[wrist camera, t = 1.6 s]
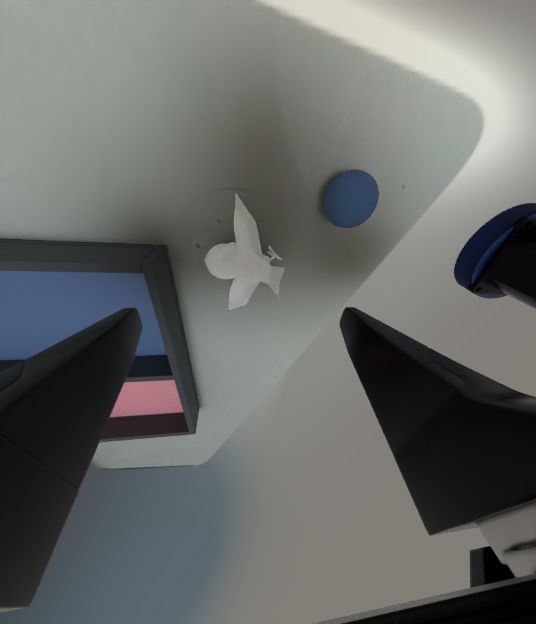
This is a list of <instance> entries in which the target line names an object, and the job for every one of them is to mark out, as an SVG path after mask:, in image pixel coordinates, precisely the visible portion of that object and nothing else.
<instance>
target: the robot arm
mask: <svg viewBox="0 0 536 624" xmlns="http://www.w3.org/2000/svg"><path fill="white" fill-rule="evenodd" d="M469 291H471V292H472V293H474V294H507V295H509V296H511V297H513V298H516V299H517V300H519V301H521V302H523V303H525V304H527V305H529V306H531V307H533V308H535V309H536V218H535V217H524V218H522V219H521V220H520V221H518V223H517V224H516V225H515V226H514V228H513V229H512V231H511V232H510V233H509V235H508V236H507V237H506V239H505V240H504V241H503V243H502V244H501V246H500V247H499V248H498V250H497V251H496V252H495V254H494V255H493V256H492V258H491V259H490V261H489V262H488V263H487V265H486V266H485V267H484V269H483V270H482V271H481V273H480V274H479V276H478V277H477V278H476V280H475V281H474V282H473V284H472V285H471V286H470V288H469ZM340 328H341V331H342V334H343V338H344V341H345V344H346V347H347V350H348V353H349V355H350V358H351V360H352V363H353V365H354V367H355V369H356V372H357V374H358V376H359V378H360V381H361V383H362V385H363V388H364V390H365V392H366V394H367V397H368V399H369V401H370V403H371V406H372V408H373V410H374V412H375V415H376V417H377V419H378V421H379V424H380V426H381V428H382V430H383V433H384V435H385V437H386V440H387V442H388V444H389V446H390V449H391V451H392V453H393V456H394V458H395V460H396V463H397V465H398V467H399V469H400V471H401V474H402V476H403V478H404V481H405V483H406V485H407V487H408V490H409V492H410V494H411V496H412V498H413V501H414V503H415V505H416V508H417V510H418V512H419V515H420V517H421V519H422V521H423V524H424V526H425V528H426V530H427V532H428V534H429V535H430V536H431V535H437V534H443V533H448V532H454V531H459V530H465V529H471V528H476V527H478V528H479V529H480V531H481V533H482V534H483V536H484V537H485V539H486V540H487V542H488V543H489V545H490V546H488V547H483V548H479V549H474V550H470V587H471V588H469V589H464V590H460V591H455V592H451V593H447V594H442V595H438V596H433V597H429V598H424V599H420V600H416V601H411V602H407V603H402V604H398V605H394V606H389V607H385V608H380V609H376V610H371V611H367V612H362V613H358V614H353V615H349V616H345V617H340V618H336V619H331V620H327V621H323V622H318V623H314V624H536V397H534V396H530V395H527V394H524V393H521V392H518V391H515V390H513V389H511V388H509V387H507V386H505V385H503V384H500V383H498V382H496V381H494V380H492V379H490V378H488V377H486V376H484V375H481V374H480V373H478V372H476V371H473V370H471V369H469V368H467V367H465V366H463V365H461V364H459V363H457V362H455V361H453V360H451V359H449V358H448V357H446V356H444V355H442V354H440V353H438V352H436V351H434V350H433V349H430V348H428V347H427V346H425V345H423V344H421V343H419V342H418V341H416V340H414V339H412V338H410V337H408V336H406V335H404V334H403V333H401V332H399V331H397V330H395V329H393V328H392V327H390V326H388V325H386V324H384V323H382V322H381V321H379V320H377V319H375V318H373V317H371V316H369V315H368V314H366V313H364V312H362V311H360V310H358V309H357V308H354V307H346V308H345V309H344V311H343V314H342V317H341V319H340ZM142 329H143V324H142V321H141V318H140V315H139V312H138V310H137V309H136V308H123V309H121V310H119V311H117V312H115V313H113V314H111V315H110V316H108V317H106V318H104V319H102V320H100V321H98V322H96V323H94V324H92V325H91V326H89V327H87V328H85V329H83V330H81V331H79V332H77V333H75V334H73V335H72V336H70V337H68V338H66V339H64V340H62V341H60V342H58V343H56V344H54V345H53V346H51V347H49V348H47V349H45V350H43V351H41V352H39V353H37V354H35V355H33V356H32V357H30V358H28V359H26V360H25V362H20V363H18V364H16V365H14V366H12V367H11V368H9V369H7V370H5V371H3V372H1V373H0V612H5V611H11V610H16V609H22V608H27V607H29V606H30V604H31V602H32V600H33V598H34V596H35V594H36V591H37V589H38V587H39V584H40V582H41V579H42V577H43V575H44V572H45V570H46V567H47V565H48V563H49V561H50V558H51V556H52V553H53V551H54V549H55V546H56V544H57V542H58V539H59V537H60V534H61V532H62V529H63V527H64V525H65V523H66V520H67V518H68V515H69V513H70V511H71V508H72V506H73V504H74V501H75V499H76V497H77V494H78V492H79V490H78V489H79V488H80V486H81V484H82V482H83V479H84V477H85V475H86V472H87V470H88V468H89V465H90V463H91V460H92V458H93V456H94V453H95V451H96V449H97V446H98V444H99V442H100V439H101V437H102V434H103V432H104V430H105V427H106V425H107V423H108V420H109V418H110V415H111V413H112V411H113V408H114V406H115V404H116V401H117V399H118V396H119V394H120V392H121V389H122V387H123V385H124V382H125V380H126V377H127V375H128V373H129V370H130V368H131V366H132V363H133V360H134V357H135V354H136V350H137V347H138V343H139V340H140V336H141V332H142Z"/></svg>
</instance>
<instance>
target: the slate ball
mask: <svg viewBox="0 0 536 624" xmlns="http://www.w3.org/2000/svg"><path fill="white" fill-rule="evenodd" d="M378 196H379V193H378V186H377V183H376V182H375V180H374V178H373V177H372V176H371V175H370V174H368V173H367V172H364V171H361V170H350V171H346V172H344V173H342V174H340V175H339V176H337V177H336V178H335V179H334V180H333V181H332V182H331V183H330V185H329V186H328V188H327V190H326V193H325V196H324V202H323V206H324V212H325V215H326V217H327V218H328V220H329V221H330V222H331V223H332V224H334V225H336V226H338V227H341V228H351V227H355V226H358V225H360V224H362V223H363V222H365V221H366V220H367V219H368V218H369V217H370V216H371V214H372V213H373V211H374V210H375V208H376V205H377V202H378Z"/></svg>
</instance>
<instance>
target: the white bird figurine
mask: <svg viewBox="0 0 536 624" xmlns="http://www.w3.org/2000/svg"><path fill="white" fill-rule="evenodd" d="M234 232H235V239H236V243H234V242H230V243H228V244H224V243H222V244H218V245H215V246H213V247H212V248H211V249H210V250H209V251H208V253H207V255H206V257H205V258H204V261H205V264H206V265H207V268H208V270H209V272H210V273H211V274H212V275H213V276H215V277H217V278H218V279H225V280H228V279H232V278H234V279H233V283H232V286H231V288H230V291H229V307H228V311H230V310H233V309H235V308H238V307H241V306H244V305H246V304H247V302H248V301H249V299H250V297H251V296H252V294H253V292H254V291H255V289H256V288H257V286H258V285H259V283H260V282H263V283H266V284H269V285H270V287H271V288H272V289H273V291H274V292H275V293H276V294H277V296H278V297H279V285H280V281H281V278H282V276H283V274H284V271H285V269H286V268H283V267H272V266H271V265H270V261H271V260H272V259H273V258H276V259H279V260H281V261H282V259H281V258H280V257H279V256H278V255H277V254H276V253H275V252H274V251H273V249H272V248H271V246H268V248H269V250H270V251H271V252H272V253H273V254H272V253H271V252H270V251H268V252H267V253H268V254H270V255H272V257H271V258H269V257H268V256H265V255H262V251H261V245H260V240H259V235H258V229H257V224H256V221H255V220H254V218H253V217H252V215H251V214H250V212H249V211H248V210H247V208H246V207H245V205H244V204H243V203H242V201H241V200H240V198H239V197H238V195H237V194H236V198H235V214H234Z"/></svg>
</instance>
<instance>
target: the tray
mask: <svg viewBox="0 0 536 624" xmlns="http://www.w3.org/2000/svg"><path fill="white" fill-rule="evenodd" d="M123 308H136V309H137V310H138V312H139V315H140V318H141V321H142V324H143V329H142V332H141V336H140V340H139V343H138V347H137V350H136V354H135V357H134V360H133V363H132V366H131V368H130V370H129V373H128V375H127V377H126V380H125V382H124V385H123V387H122V389H121V392H120V394H119V396H118V399H117V401H116V404H115V406H114V408H113V411H112V413H111V415H110V418H109V420H108V423H107V425H106V427H105V430H104V432H103V434H102V437H101V439H100V442H108V441H120V440H132V439H143V438H155V437H167V436H178V435H189V434H195V433H196V426H197V419H198V412H199V404H198V399H197V394H196V389H195V384H194V379H193V374H192V369H191V364H190V360H189V355H188V350H187V345H186V340H185V335H184V330H183V325H182V320H181V315H180V310H179V305H178V300H177V295H176V290H175V285H174V280H173V275H172V270H171V266H170V261H169V256H168V251H167V246H166V245H144V244H118V243H91V242H65V241H39V240H13V239H0V373H1V372H3V371H5V370H7V369H9V368H11V367H12V366H14V365H16V364H18V363H20V362H25V360H26V359H28V358H30V357H32V356H33V355H35V354H37V353H39V352H41V351H43V350H45V349H47V348H49V347H51V346H53V345H54V344H56V343H58V342H60V341H62V340H64V339H66V338H68V337H70V336H72V335H73V334H75V333H77V332H79V331H81V330H83V329H85V328H87V327H89V326H91V325H92V324H94V323H96V322H98V321H100V320H102V319H104V318H106V317H108V316H110V315H111V314H113V313H115V312H117V311H119V310H121V309H123Z"/></svg>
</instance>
